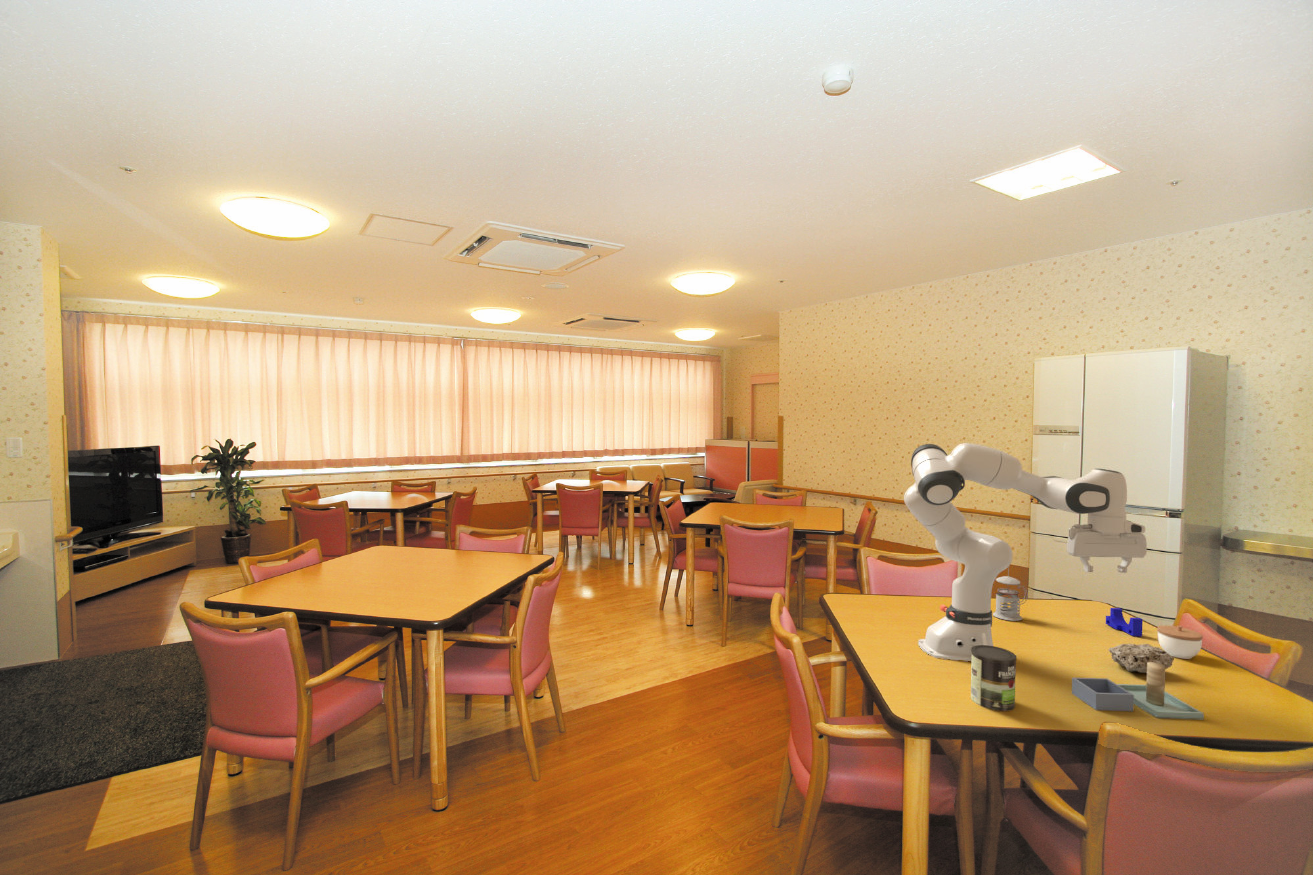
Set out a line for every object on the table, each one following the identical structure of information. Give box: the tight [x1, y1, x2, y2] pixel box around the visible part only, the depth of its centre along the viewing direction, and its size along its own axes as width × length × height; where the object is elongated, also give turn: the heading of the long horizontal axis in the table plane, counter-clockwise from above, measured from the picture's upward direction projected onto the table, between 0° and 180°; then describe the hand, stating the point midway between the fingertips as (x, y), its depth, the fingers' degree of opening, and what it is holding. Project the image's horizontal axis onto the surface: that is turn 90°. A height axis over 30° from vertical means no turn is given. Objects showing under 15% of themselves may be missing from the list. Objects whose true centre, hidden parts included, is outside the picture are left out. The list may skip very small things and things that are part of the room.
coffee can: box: [970, 645, 1017, 712], centre depth 150 cm, size 10×10×14 cm
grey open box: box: [1071, 677, 1135, 712], centre depth 151 cm, size 9×9×5 cm
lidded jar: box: [1156, 624, 1203, 660], centre depth 183 cm, size 11×11×9 cm
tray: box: [1116, 683, 1205, 721], centre depth 150 cm, size 11×15×2 cm
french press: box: [992, 566, 1029, 622], centre depth 218 cm, size 10×12×25 cm
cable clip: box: [1105, 607, 1144, 637], centre depth 205 cm, size 12×4×6 cm, turn 173°
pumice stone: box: [1108, 643, 1175, 674], centre depth 170 cm, size 14×12×8 cm
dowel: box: [1145, 662, 1166, 706], centre depth 150 cm, size 4×4×10 cm
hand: (1105, 571), depth 166 cm, fingers open, 8 cm apart
